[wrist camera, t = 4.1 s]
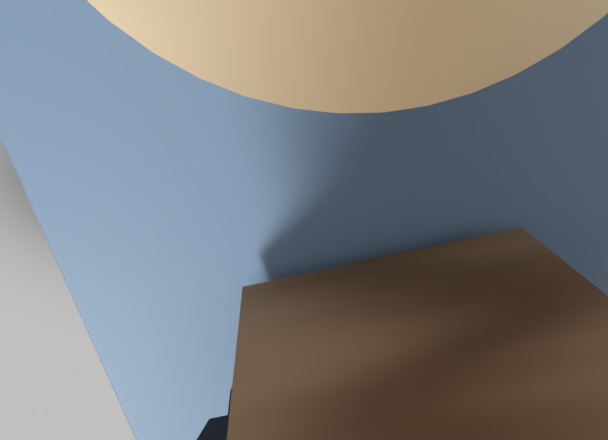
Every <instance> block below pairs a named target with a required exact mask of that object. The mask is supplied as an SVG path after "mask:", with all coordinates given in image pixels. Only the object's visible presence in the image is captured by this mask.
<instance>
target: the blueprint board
mask: <svg viewBox="0 0 608 440" xmlns="http://www.w3.org/2000/svg"><path fill="white" fill-rule="evenodd" d="M0 136H1V138H2V141H3V143H4V145H5V148H6V150H7V152H8V154H9V156H10V159H11V161H12V163H13V166H14V168H15V170H16V172H17V175H18V176H19V179H20V181H21V183H22V186H23V188H24V190H25V192H26V195H27V197H28V199H29V201H30V204H31V206H32V208H33V210H34V213H35V215H36V217H37V219H38V222H39V224H40V226H41V228H42V231H43V233H44V235H45V237H46V239H47V242H48V244H49V246H50V249H51V251H52V253H53V255H54V257H55V260H56V262H57V264H58V266H59V269H60V271H61V273H62V275H63V278H64V280H65V282H66V284H67V286H68V289H69V291H70V293H71V295H72V298H73V300H74V302H75V305H76V307H77V309H78V311H79V314H80V316H81V318H82V320H83V323H84V325H85V327H86V329H87V331H88V334H89V336H90V338H91V340H92V342H93V345H94V347H95V349H96V352H97V354H98V356H99V358H100V361H101V363H102V365H103V367H104V370H105V372H106V374H107V376H108V379H109V381H110V383H111V385H112V388H113V390H114V392H115V394H116V396H117V399H118V401H119V403H120V405H121V407H122V410H123V412H124V414H125V417H126V419H127V421H128V423H129V425H130V428H131V430H132V432H133V435H134V437H135V439H136V440H197V438H198V436H199V435H200V433H201V432H202V430H203V428H204V427H205V425H206V423H207V422H208V420H209V419H211V418H216V417H220V416H225V415H228V407H229V398H230V390H231V388H232V384H233V374H234V364H235V355H236V345H237V335H238V325H239V316H240V306H241V296H242V287H244V286H249V285H253V284H258V283H263V282H267V281H272V280H277V279H281V278H286V277H291V276H296V275H300V274H305V273H310V272H314V271H319V270H324V269H328V268H333V267H338V266H342V265H347V264H352V263H357V262H361V261H366V260H371V259H375V258H380V257H385V256H389V255H394V254H399V253H403V252H408V251H413V250H418V249H422V248H427V247H432V246H436V245H441V244H446V243H450V242H455V241H460V240H464V239H469V238H474V237H479V236H483V235H488V234H493V233H497V232H502V231H507V230H511V229H516V228H521V227H522V228H524V229H525V230H526V231H527V232H529V233H530V234H531V235H532V236H534V237H535V238H536V239H537V240H539V241H540V242H541V243H542V244H544V245H545V246H546V247H547V248H549V249H550V250H551V251H552V252H554V253H555V254H556V255H557V256H559V257H560V258H561V259H562V260H564V261H565V262H566V263H567V264H569V265H570V266H571V267H572V268H574V269H575V270H576V271H577V272H579V273H580V274H581V275H582V276H584V277H585V278H586V279H587V280H589V281H590V282H591V283H592V284H594V285H595V286H596V287H597V288H599V289H600V290H601V291H602V292H603V293H605V294H606V295H607V296H608V13H607V14H606V15H605V16H604V17H602V18H601V19H600V20H598V21H597V22H596V23H594V24H593V25H592V26H590V27H589V28H588V29H586V30H585V31H584V32H582V33H581V34H580V35H578V36H577V37H576V38H574V39H573V40H572V41H570V42H569V43H567V44H566V45H565V46H563V47H562V48H561V49H559V50H557V51H556V52H554V53H552V54H551V55H549V56H547V57H545V58H544V59H542V60H540V61H538V62H537V63H535V64H533V65H532V66H530V67H528V68H526V69H525V70H523V71H521V72H519V73H518V74H516V75H513V76H511V77H509V78H506V79H504V80H502V81H499V82H497V83H495V84H492V85H490V86H488V87H485V88H483V89H481V90H478V91H476V92H474V93H470V94H467V95H464V96H460V97H457V98H453V99H450V100H446V101H443V102H439V103H436V104H432V105H429V106H423V107H416V108H410V109H403V110H396V111H390V112H383V113H330V112H321V111H313V110H304V109H295V108H289V107H285V106H281V105H277V104H273V103H269V102H265V101H262V100H258V99H254V98H250V97H246V96H243V95H241V94H238V93H236V92H233V91H231V90H228V89H225V88H223V87H220V86H218V85H215V84H213V83H210V82H208V81H205V80H203V79H200V78H198V77H196V76H195V75H193V74H191V73H189V72H187V71H186V70H184V69H182V68H180V67H178V66H176V65H175V64H173V63H171V62H169V61H167V60H166V59H164V58H162V57H160V56H158V55H156V54H155V53H153V52H152V51H150V50H149V49H148V48H146V47H145V46H143V45H142V44H141V43H139V42H138V41H136V40H135V39H134V38H132V37H131V36H130V35H128V34H127V33H125V32H124V31H123V30H121V29H120V28H118V27H117V26H116V25H114V24H113V23H111V22H110V21H109V20H108V19H107V18H105V17H104V16H103V15H102V14H101V13H100V12H99V11H98V10H97V9H96V8H95V7H93V6H92V5H91V4H90V3H89V2H88V1H87V0H0Z"/></svg>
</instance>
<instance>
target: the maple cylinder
mask: <svg viewBox="0 0 608 440" xmlns="http://www.w3.org/2000/svg"><path fill="white" fill-rule="evenodd" d="M87 1H88V2H89V3H90V4H91V5H92V6H93V7H95V8H96V9H97V10H98V11H99V12H100V13H101V14H102V15H103V16H104V17H105V18H107V19H108V20H109V21H110V22H111V23H113V24H114V25H116V26H117V27H118V28H120V29H121V30H123V31H124V32H125V33H127V34H128V35H130V36H131V37H132V38H134V39H135V40H136V41H138V42H139V43H141V44H142V45H143V46H145V47H146V48H148V49H149V50H150V51H152V52H153V53H155V54H156V55H158V56H160V57H162V58H164V59H166V60H167V61H169V62H171V63H173V64H175V65H176V66H178V67H180V68H182V69H184V70H186V71H187V72H189V73H191V74H193V75H195V76H196V77H198V78H200V79H203V80H205V81H208V82H210V83H213V84H215V85H218V86H220V87H223V88H225V89H228V90H231V91H233V92H236V93H238V94H241V95H243V96H246V97H250V98H254V99H258V100H262V101H265V102H269V103H273V104H277V105H281V106H285V107H289V108H295V109H304V110H313V111H321V112H330V113H383V112H390V111H396V110H403V109H410V108H416V107H423V106H429V105H432V104H436V103H439V102H443V101H446V100H450V99H453V98H457V97H460V96H464V95H467V94H470V93H474V92H476V91H478V90H481V89H483V88H485V87H488V86H490V85H492V84H495V83H497V82H499V81H502V80H504V79H506V78H509V77H511V76H513V75H516V74H518V73H519V72H521V71H523V70H525V69H526V68H528V67H530V66H532V65H533V64H535V63H537V62H538V61H540V60H542V59H544V58H545V57H547V56H549V55H551V54H552V53H554V52H556V51H557V50H559V49H561V48H562V47H563V46H565V45H566V44H567V43H569V42H570V41H572V40H573V39H574V38H576V37H577V36H578V35H580V34H581V33H582V32H584V31H585V30H586V29H588V28H589V27H590V26H592V25H593V24H594V23H596V22H597V21H598V20H600V19H601V18H602V17H604V16H605V15H606V14H607V13H608V0H87Z"/></svg>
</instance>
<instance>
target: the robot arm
mask: <svg viewBox="0 0 608 440" xmlns="http://www.w3.org/2000/svg"><path fill="white" fill-rule="evenodd" d="M231 393H232V388H231V390H230V398H229V407H228V415H225V416H220V417H216V418H211V419H209V420H208V422H207V423H206V425H205V427H204V428H203V430H202V432H201V433H200V435H199V436H198V438H197V440H227V432H228V422H229V413H230V403H231Z"/></svg>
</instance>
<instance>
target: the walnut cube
mask: <svg viewBox="0 0 608 440" xmlns="http://www.w3.org/2000/svg"><path fill="white" fill-rule="evenodd" d="M227 440H608V296H607V295H606V294H605V293H603V292H602V291H601V290H600V289H599V288H597V287H596V286H595V285H594V284H592V283H591V282H590V281H589V280H587V279H586V278H585V277H584V276H582V275H581V274H580V273H579V272H577V271H576V270H575V269H574V268H572V267H571V266H570V265H569V264H567V263H566V262H565V261H564V260H562V259H561V258H560V257H559V256H557V255H556V254H555V253H554V252H552V251H551V250H550V249H549V248H547V247H546V246H545V245H544V244H542V243H541V242H540V241H539V240H537V239H536V238H535V237H534V236H532V235H531V234H530V233H529V232H527V231H526V230H525V229H524V228H522V227H521V228H516V229H511V230H507V231H502V232H497V233H493V234H488V235H483V236H479V237H474V238H469V239H464V240H460V241H455V242H450V243H446V244H441V245H436V246H432V247H427V248H422V249H418V250H413V251H408V252H403V253H399V254H394V255H389V256H385V257H380V258H375V259H371V260H366V261H361V262H357V263H352V264H347V265H342V266H338V267H333V268H328V269H324V270H319V271H314V272H310V273H305V274H300V275H296V276H291V277H286V278H281V279H277V280H272V281H267V282H263V283H258V284H253V285H249V286H244V287H242V296H241V306H240V316H239V325H238V335H237V345H236V355H235V364H234V374H233V384H232V393H231V403H230V413H229V422H228V432H227Z"/></svg>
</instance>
